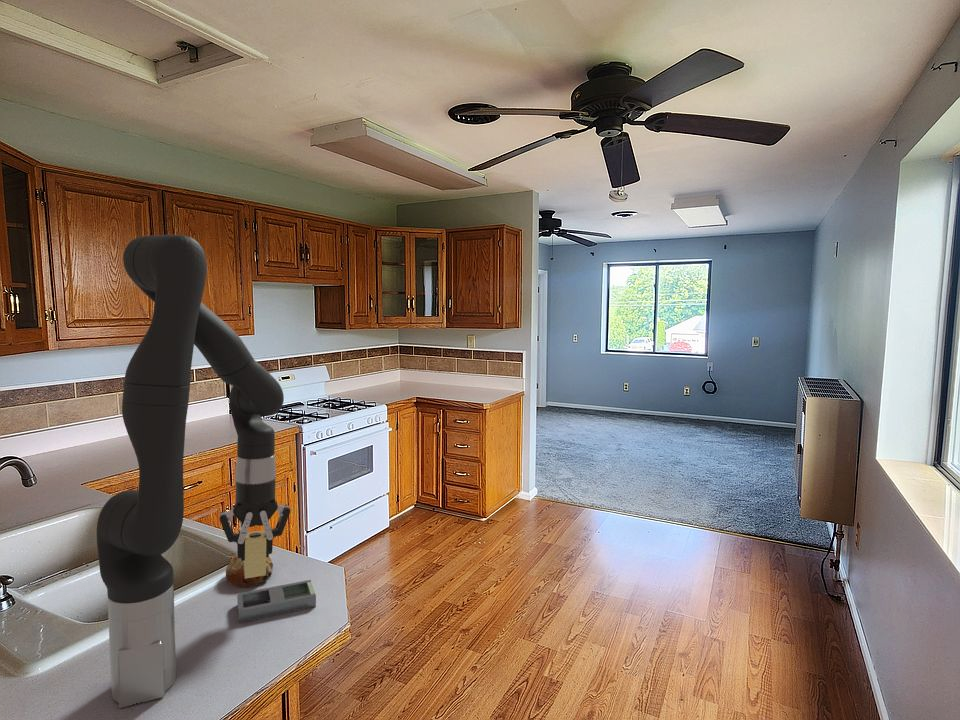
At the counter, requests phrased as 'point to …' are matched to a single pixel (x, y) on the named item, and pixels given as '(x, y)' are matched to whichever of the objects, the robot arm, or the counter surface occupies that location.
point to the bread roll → (237, 573)
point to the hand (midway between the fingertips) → (255, 557)
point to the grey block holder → (276, 600)
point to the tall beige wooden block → (255, 554)
